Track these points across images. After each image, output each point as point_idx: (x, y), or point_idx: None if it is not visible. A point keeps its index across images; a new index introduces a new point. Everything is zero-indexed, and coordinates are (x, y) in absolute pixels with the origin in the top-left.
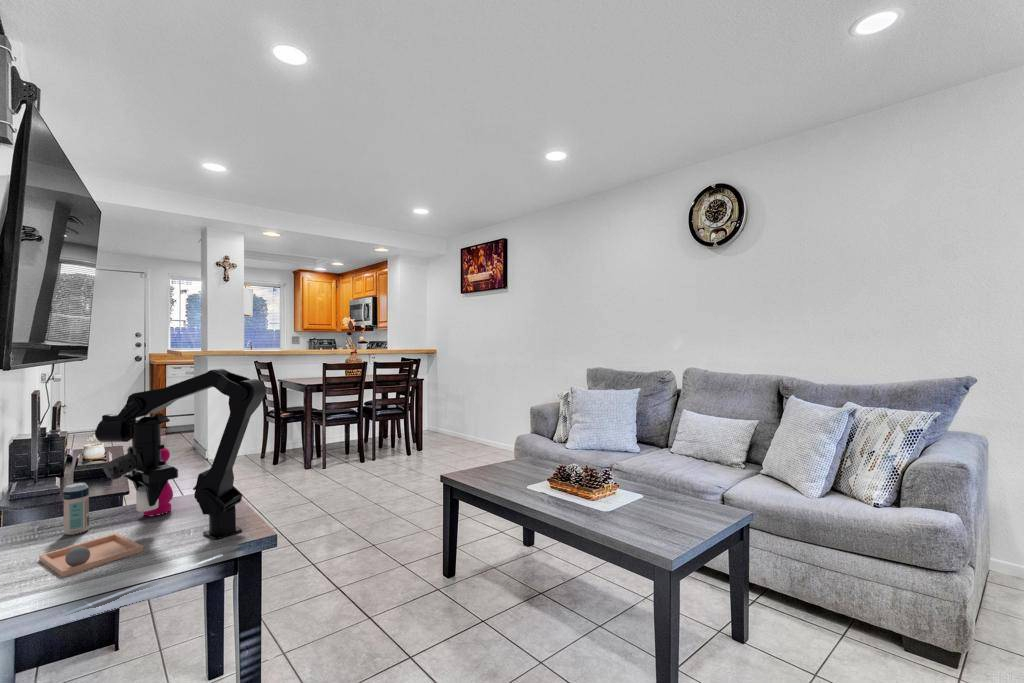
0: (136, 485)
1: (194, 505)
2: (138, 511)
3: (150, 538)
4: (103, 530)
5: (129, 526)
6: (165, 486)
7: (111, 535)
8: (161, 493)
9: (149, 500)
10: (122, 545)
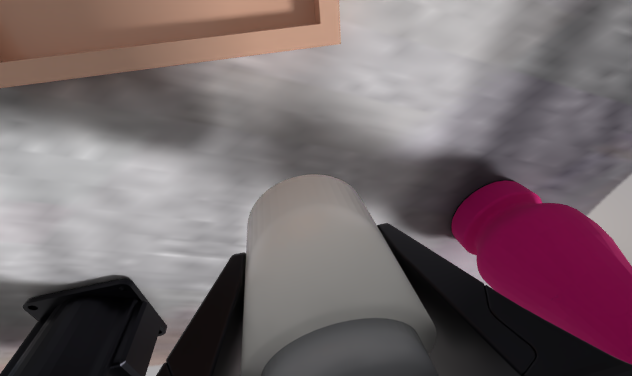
0: (496, 349)
1: None
2: (284, 180)
3: (226, 149)
4: (511, 29)
5: (449, 121)
6: (535, 312)
7: (321, 7)
8: (510, 280)
9: (207, 297)
10: (175, 27)
